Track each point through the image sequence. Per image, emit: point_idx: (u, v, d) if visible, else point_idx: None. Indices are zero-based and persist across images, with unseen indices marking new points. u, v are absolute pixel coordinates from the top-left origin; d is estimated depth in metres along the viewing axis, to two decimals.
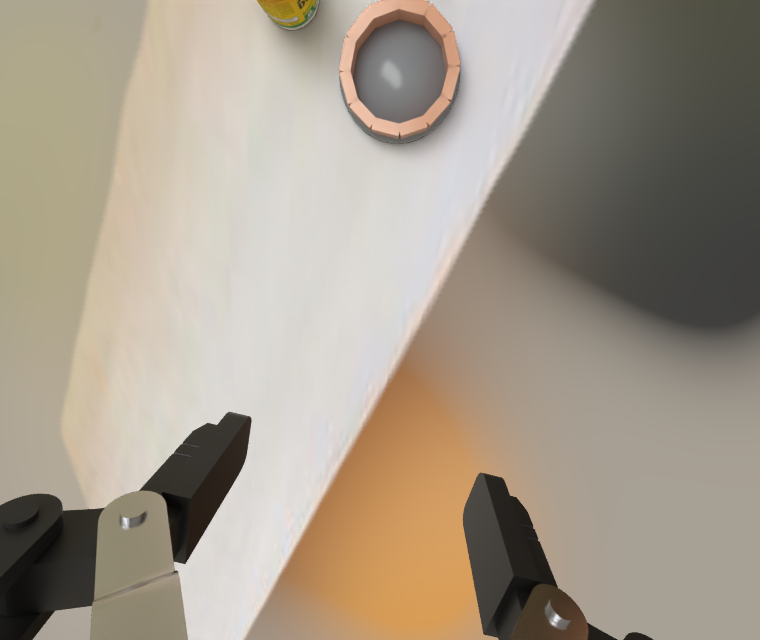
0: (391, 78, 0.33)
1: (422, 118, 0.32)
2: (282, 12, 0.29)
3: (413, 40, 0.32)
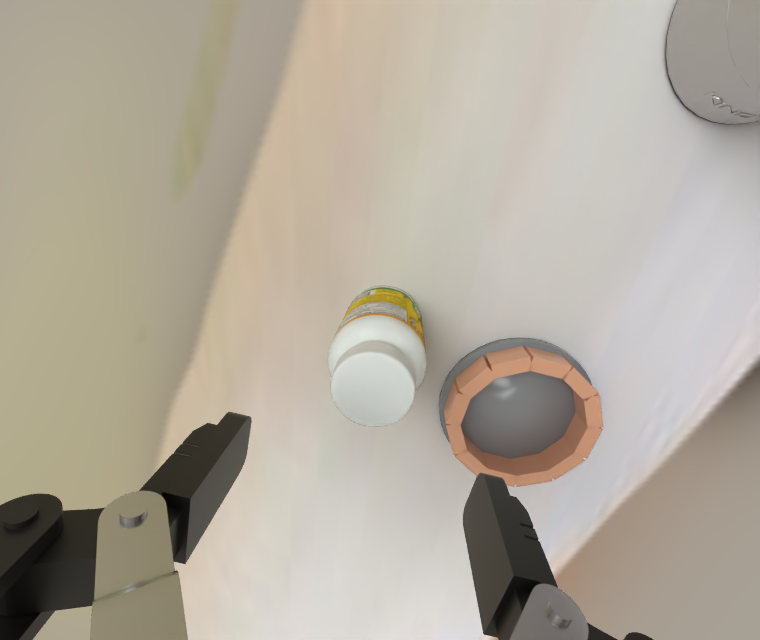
0: (505, 413, 0.26)
1: (546, 473, 0.26)
2: None
3: (538, 379, 0.25)
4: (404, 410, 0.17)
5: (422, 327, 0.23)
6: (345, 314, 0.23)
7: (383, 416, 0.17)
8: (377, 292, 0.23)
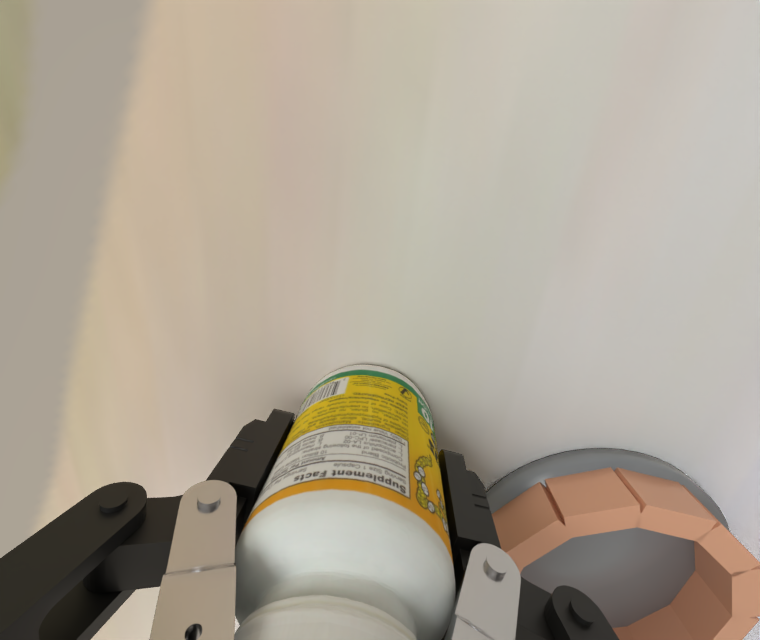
0: (574, 569, 0.16)
1: None
2: None
3: None
4: None
5: (437, 455, 0.12)
6: (290, 430, 0.12)
7: None
8: (351, 387, 0.12)
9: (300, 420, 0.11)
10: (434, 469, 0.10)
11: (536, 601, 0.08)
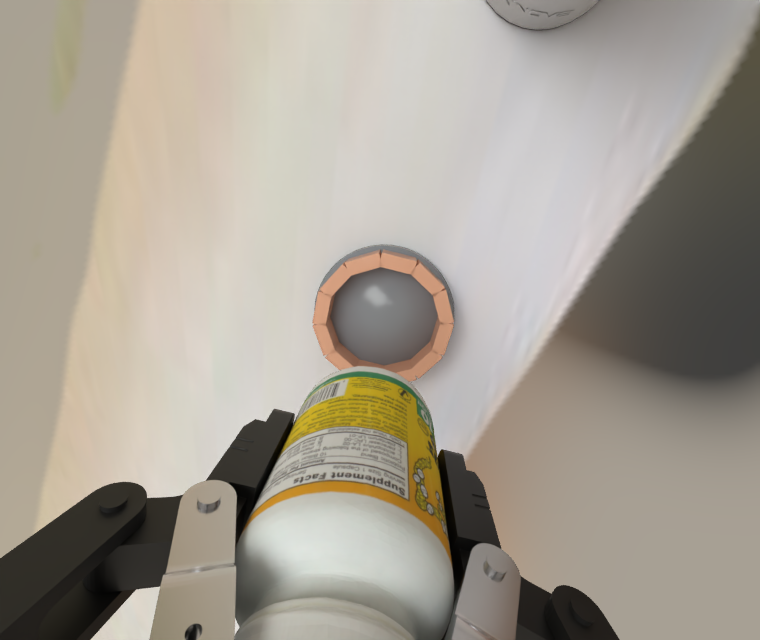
0: (374, 318, 0.28)
1: (410, 371, 0.28)
2: None
3: (399, 283, 0.27)
4: None
5: (436, 457, 0.12)
6: (290, 432, 0.12)
7: None
8: (350, 388, 0.12)
9: (300, 422, 0.11)
10: (433, 471, 0.10)
11: (536, 601, 0.08)
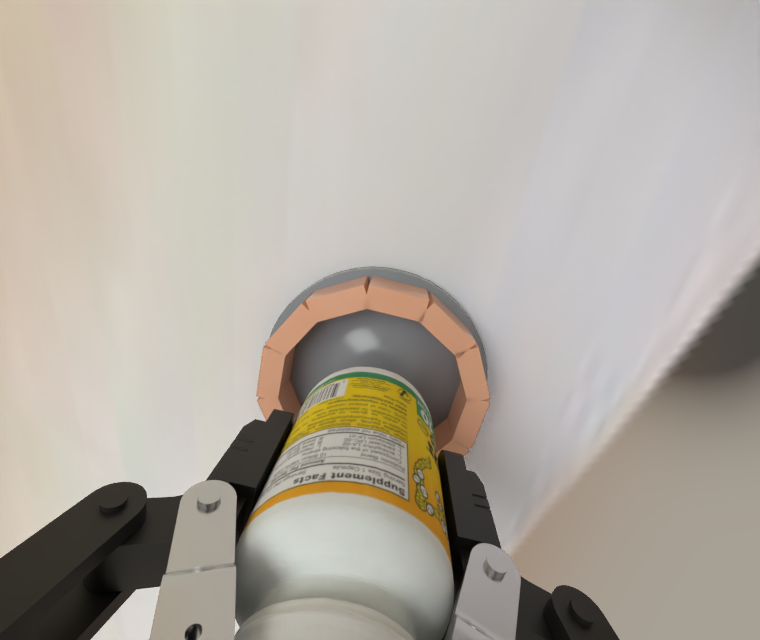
0: None
1: None
2: None
3: (399, 330, 0.17)
4: None
5: (436, 457, 0.12)
6: (290, 432, 0.12)
7: None
8: (350, 389, 0.12)
9: (300, 422, 0.11)
10: (433, 471, 0.10)
11: (536, 601, 0.08)
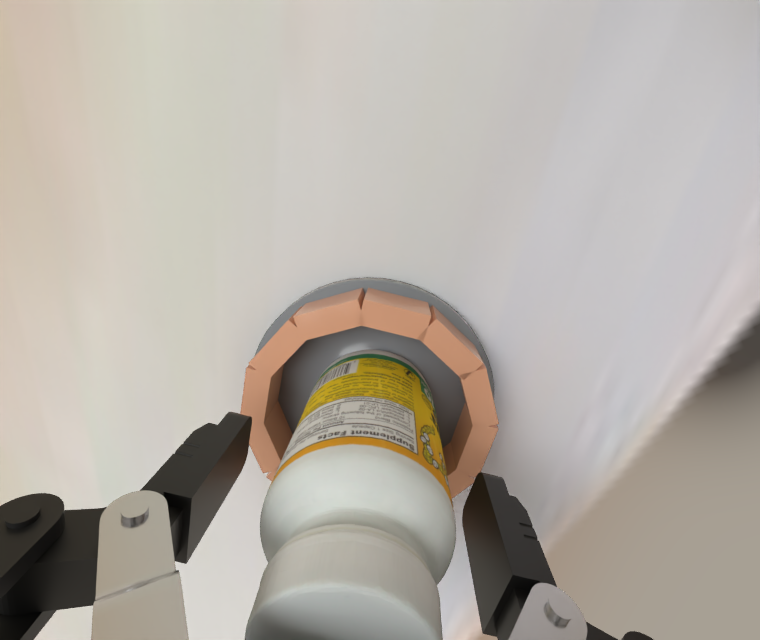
0: None
1: None
2: None
3: (397, 347, 0.15)
4: None
5: (438, 429, 0.13)
6: (306, 405, 0.13)
7: None
8: (361, 367, 0.13)
9: (316, 395, 0.13)
10: (436, 437, 0.12)
11: None
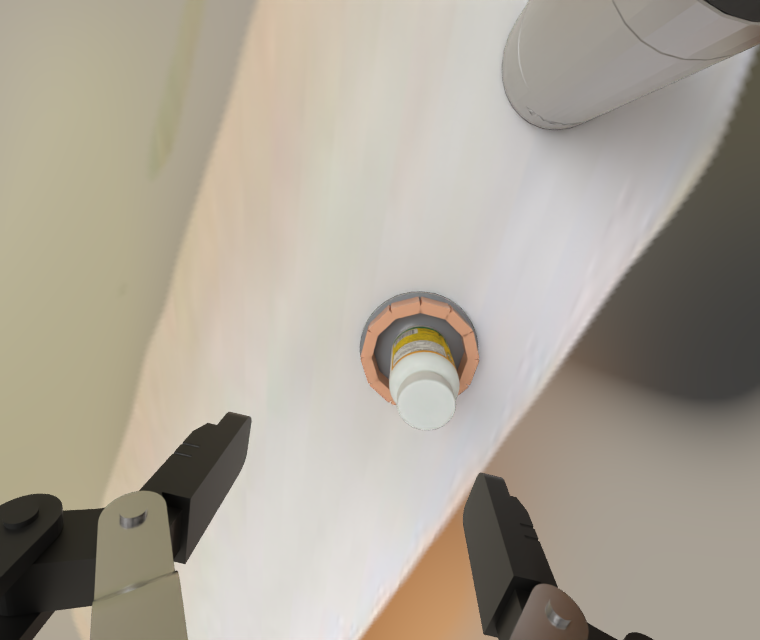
0: None
1: None
2: None
3: (433, 324, 0.33)
4: (447, 419, 0.25)
5: None
6: (395, 346, 0.31)
7: (432, 423, 0.25)
8: (419, 331, 0.31)
9: (401, 342, 0.30)
10: (452, 358, 0.29)
11: None
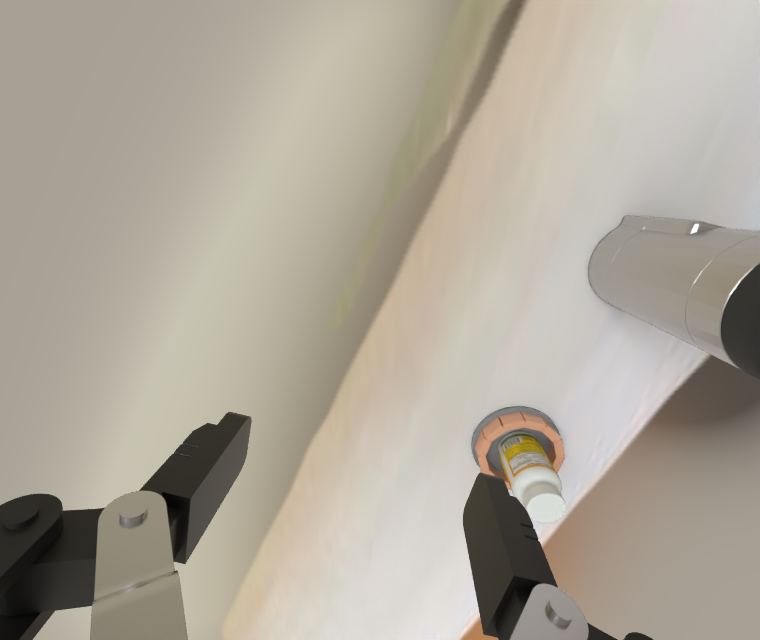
0: None
1: None
2: None
3: (528, 429, 0.45)
4: (559, 517, 0.37)
5: None
6: (507, 451, 0.43)
7: (549, 519, 0.37)
8: (523, 440, 0.43)
9: (512, 449, 0.42)
10: None
11: None
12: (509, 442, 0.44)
